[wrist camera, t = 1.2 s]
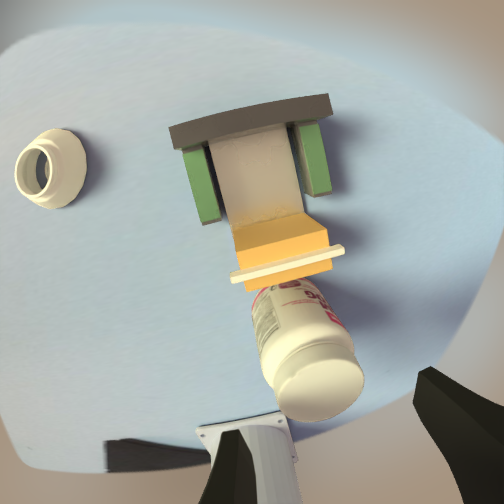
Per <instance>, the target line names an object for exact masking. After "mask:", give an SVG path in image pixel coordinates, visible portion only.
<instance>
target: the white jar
mask: <svg viewBox="0 0 504 504" xmlns="http://www.w3.org/2000/svg"><path fill="white" fill-rule="evenodd" d="M41 151H43V152H44V153H45V154H46V156H47V158H48V159H47V161H46V164H45V175H46V178H47V179H48V183H47V185H46V187H45V188H44V189H42V188H40V185H39V183H38V181H37V179H36V163H37V158H38V156H39V154H40V152H41ZM86 171H87V164H86V153H85V151H84V148H83V146H82V144H81V142H80V140H79V139H78V138H77V137H76V136H75V135H74V134H72V133H71V132H70V131H67V130H62V129H57V128H55V129H51V130H48V131H45V132H43V133H42V134H40V135H39V136H38V137H37V138H36V139H35V140H34V141H33V142H31V143H30V144H29V145H28V146H27V147H26V148H25V149H24V150H23V151H22V153H21V154H20V155H19V157H18V159H17V162H16V166H15V181H16V184H17V187H18V189H19V190H20V192H21V193H22V194H23V195H24V196H26V197H28V198H29V199H30V200H31V201H33V202H34V203H36V204H37V205H39V206H42V207H45V208H48V209H54V208H60V207H63V206H65V205H67V204H68V203H69V202H71V201H72V200H73V199H75V198H76V196H77V194H78V193H79V191H80V190H81V188H82V186H83V184H84V180H85V176H86Z"/></svg>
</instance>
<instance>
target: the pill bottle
mask: <svg viewBox="0 0 504 504" xmlns="http://www.w3.org/2000/svg"><path fill="white" fill-rule="evenodd" d="M252 320H253V325H254V331H255V336H256V342H257V347H258V352H259V357H260V363H261V368H262V372H263V375H264V377H265V379H266V381H267V383H268V384H269V385H270V386H271V387H272V388H273V389H274V392H275V396H276V400H277V404H278V406H279V409H280V410H281V412H282V413H283V414H284V415H285V416H287V417H288V418H290V419H292V420H296V421H300V422H317V421H322V420H326V419H329V418H331V417H334V416H336V415H338V414H340V413H341V412H343V411H345V410H346V409H347V408H348V407H350V406H351V405H352V404H353V403H354V402H355V401H356V399H357V398H358V396H359V395H360V394H361V392H362V389H363V387H364V374H363V371H362V369H361V367H360V365H359V363H358V361H357V359H356V357H355V356H354V345H353V341H352V339H351V337H350V335H349V333H348V332H347V330H346V329H345V327H344V326H343V324H342V323H341V322H340V320H339V319H338V317H337V316H336V314H335V313H334V311H333V310H332V308H331V307H330V305H329V304H328V303H327V301H326V300H325V298H324V297H323V295H322V294H321V292H320V291H319V289H318V288H317V287H316V286H315V285H314V284H313V283H312V282H311V281H309V280H308V279H306V278H303V277H302V278H299V279H295V280H291V281H287V282H284V283H280V284H276V285H272V286H269V287H265V288H261V289H260V290H259V292H258V293H257V295H256V296H255V298H254V301H253V304H252Z"/></svg>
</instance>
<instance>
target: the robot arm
mask: <svg viewBox="0 0 504 504" xmlns="http://www.w3.org/2000/svg"><path fill="white" fill-rule="evenodd" d="M413 405H414V407H415V409H416V411H417V413H418V416H419V417H420V419H421V422H422V423H423V425H424V426H425V428H426V429H427V431H428V433H429V434H430V436H431V437H432V439H433V440H434V442H435V443H436V445H437V446H438V448H439V449H440V451H441V452H442V454H443V456H444V457H445V459H446V461H447V462H448V464H449V466H450V469H451V471H452V473H453V475H454V478H455V480H456V483H457V485H458V488H459V491H460V493H461V496H462V499H463V503H464V504H504V406H501V405H498V404H496V403H494V402H492V401H490V400H488V399H486V398H484V397H481V396H480V395H478V394H476V393H474V392H472V391H471V390H469V389H467V388H465V387H463V386H462V385H460V384H459V383H457V382H456V381H454V380H452V379H451V378H449V377H447V376H446V375H444V374H443V373H441V372H439V371H438V370H436V369H435V368H433V367H431V366H430V367H428V368H426V369H424V370H422V371H419V372H418V378H417V383H416V389H415V394H414V399H413ZM196 434H197V435H198V437H199V438H200V440H201V441H202V443H203V444H204V446H205V447H206V449H207V450H208V452H209V453H210V455H211V473H210V476H209V479H208V482H207V485H206V487H205V489H204V492H203V494H202V497H201V499H200V501H199V503H198V504H303V501H302V497H301V493H300V489H299V485H298V481H297V476H296V472H295V468H294V464H293V463H296V462H297V461H298V457H297V454H296V451H295V447H294V444H293V440H292V437H291V433H290V430H289V426H288V423H287V419H286V416H285V415H284V414H283V413H282V412H275V413H271V414H267V415H263V416H258V417H253V418H249V419H244V420H238V421H233V422H227V423H222V424H215V425H209V426H202V427H197V428H196Z"/></svg>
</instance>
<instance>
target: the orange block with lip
mask: <svg viewBox="0 0 504 504" xmlns="http://www.w3.org/2000/svg"><path fill="white" fill-rule="evenodd" d="M233 235H234V242H235V249H236V255H237V258H238V262H239V266H240V269H241V270H238V271H234V272H230V279H231V282H232V284H234V283H238V282H242V281H244V284H245V287H246V291H247V292H249V291H253V290H257V289H261V288H265V287H269V286H272V285H276V284H280V283H284V282H287V281H291V280H295V279H299V278H302V277H306V276H309V275H313V274H317V273H320V272H324V271H327V270H331V269H333V267H332V260H331V258H332V257H336V256H339V255H343V254H345V251H344V247H343V246H341V245H340V244H337V245H333V246H330V247H329V240H328V234H327V229H326V228H325V227H323V226H322V225H320V224H319V223H318V222H316V221H315V220H314V219H312V218H311V217H309V216H308V215H307V214H305V213H300V214H296V215H292V216H288V217H284V218H280V219H276V220H272V221H268V222H264V223H260V224H256V225H252V226H248V227H244V228H240V229H237V230H233Z"/></svg>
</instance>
